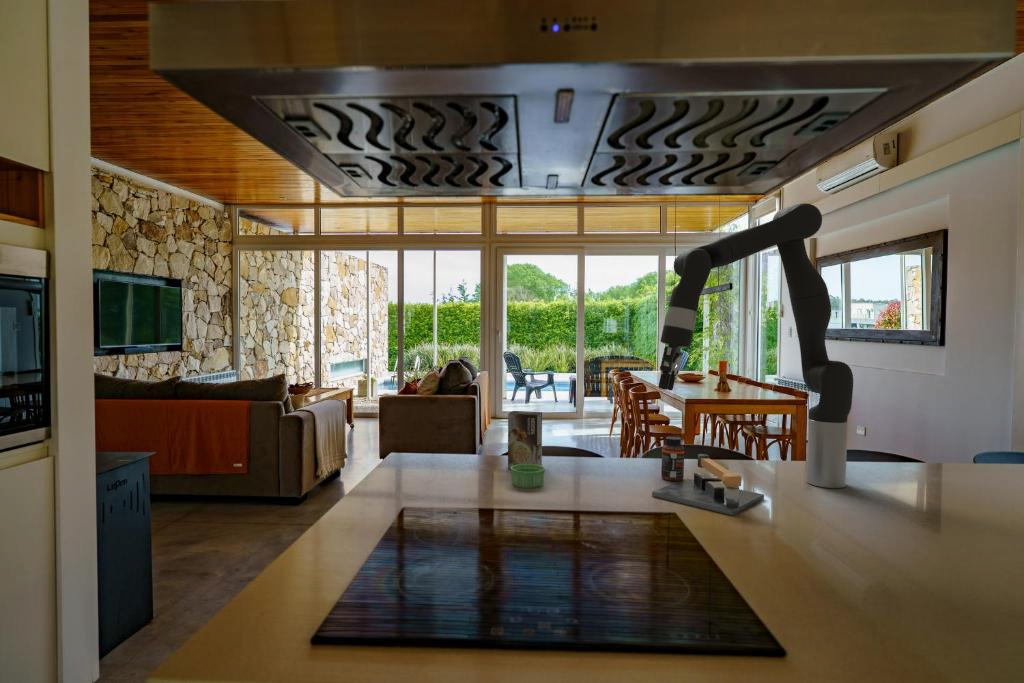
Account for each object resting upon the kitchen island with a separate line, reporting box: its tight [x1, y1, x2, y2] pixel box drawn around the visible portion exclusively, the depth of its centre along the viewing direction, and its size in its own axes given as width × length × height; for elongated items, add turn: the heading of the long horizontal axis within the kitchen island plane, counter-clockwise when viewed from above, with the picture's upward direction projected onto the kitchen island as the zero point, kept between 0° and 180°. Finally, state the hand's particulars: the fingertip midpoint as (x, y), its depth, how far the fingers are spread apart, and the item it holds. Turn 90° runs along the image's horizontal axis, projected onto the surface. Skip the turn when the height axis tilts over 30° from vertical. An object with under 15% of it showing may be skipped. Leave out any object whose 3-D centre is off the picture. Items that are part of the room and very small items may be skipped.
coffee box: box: [507, 410, 543, 470], centre depth 170 cm, size 9×6×16 cm
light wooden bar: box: [697, 453, 742, 488], centre depth 142 cm, size 22×4×3 cm, turn 1°
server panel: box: [651, 472, 765, 516], centre depth 143 cm, size 19×20×5 cm
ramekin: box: [510, 464, 546, 489], centre depth 152 cm, size 9×9×4 cm
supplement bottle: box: [660, 436, 685, 482], centre depth 160 cm, size 6×6×11 cm
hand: (665, 389), depth 148 cm, fingers open, 8 cm apart
